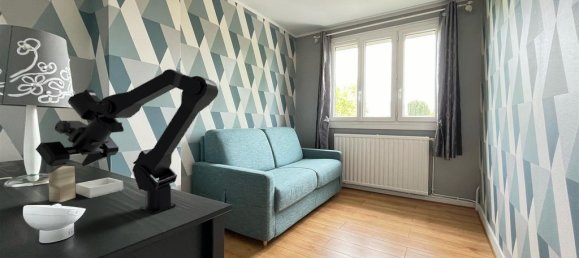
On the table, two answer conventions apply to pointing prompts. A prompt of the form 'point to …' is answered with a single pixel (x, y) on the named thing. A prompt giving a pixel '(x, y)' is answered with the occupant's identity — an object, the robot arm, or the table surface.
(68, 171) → the birch block
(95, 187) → the tray
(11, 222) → the table surface
